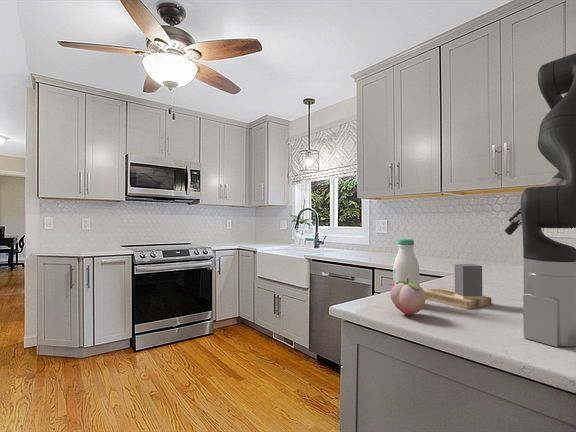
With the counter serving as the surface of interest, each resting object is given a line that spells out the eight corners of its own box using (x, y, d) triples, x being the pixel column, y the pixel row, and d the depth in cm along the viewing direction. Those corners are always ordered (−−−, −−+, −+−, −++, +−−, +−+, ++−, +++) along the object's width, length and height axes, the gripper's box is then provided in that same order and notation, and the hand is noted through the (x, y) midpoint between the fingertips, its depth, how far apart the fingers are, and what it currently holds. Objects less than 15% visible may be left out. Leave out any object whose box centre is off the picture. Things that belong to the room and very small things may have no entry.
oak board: (467, 309, 94) (467, 301, 94) (418, 296, 109) (418, 290, 109) (491, 304, 100) (491, 297, 100) (442, 293, 115) (442, 287, 115)
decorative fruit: (433, 317, 86) (433, 279, 86) (412, 322, 82) (411, 282, 82) (405, 309, 94) (405, 274, 94) (384, 312, 90) (384, 276, 90)
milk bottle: (424, 304, 99) (424, 239, 99) (409, 308, 95) (409, 240, 95) (403, 299, 105) (403, 238, 106) (387, 302, 101) (387, 239, 101)
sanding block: (473, 295, 102) (472, 264, 103) (482, 299, 98) (482, 265, 98) (454, 295, 102) (454, 264, 102) (463, 299, 98) (462, 266, 98)
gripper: (526, 189, 107) (492, 224, 106) (565, 185, 92) (526, 225, 92) (542, 205, 107) (508, 240, 106) (583, 203, 93) (544, 244, 92)
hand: (517, 233), depth 99 cm, fingers open, 8 cm apart
